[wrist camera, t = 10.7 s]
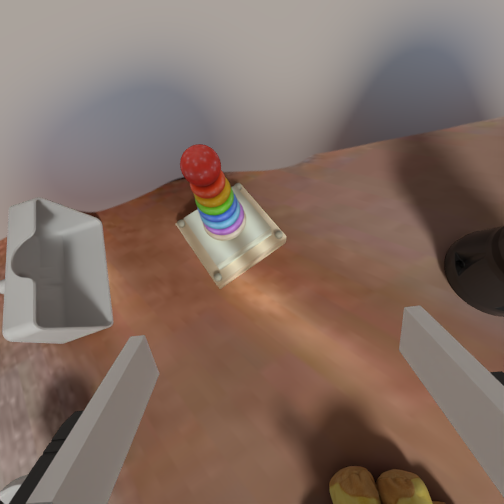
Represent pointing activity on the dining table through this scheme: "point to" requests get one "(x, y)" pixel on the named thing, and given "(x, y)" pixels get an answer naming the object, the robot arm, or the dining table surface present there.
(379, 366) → the dining table surface
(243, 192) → the plinth
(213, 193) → the stacking toy
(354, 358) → the dining table surface
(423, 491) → the giraffe plush
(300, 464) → the dining table surface
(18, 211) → the tank
